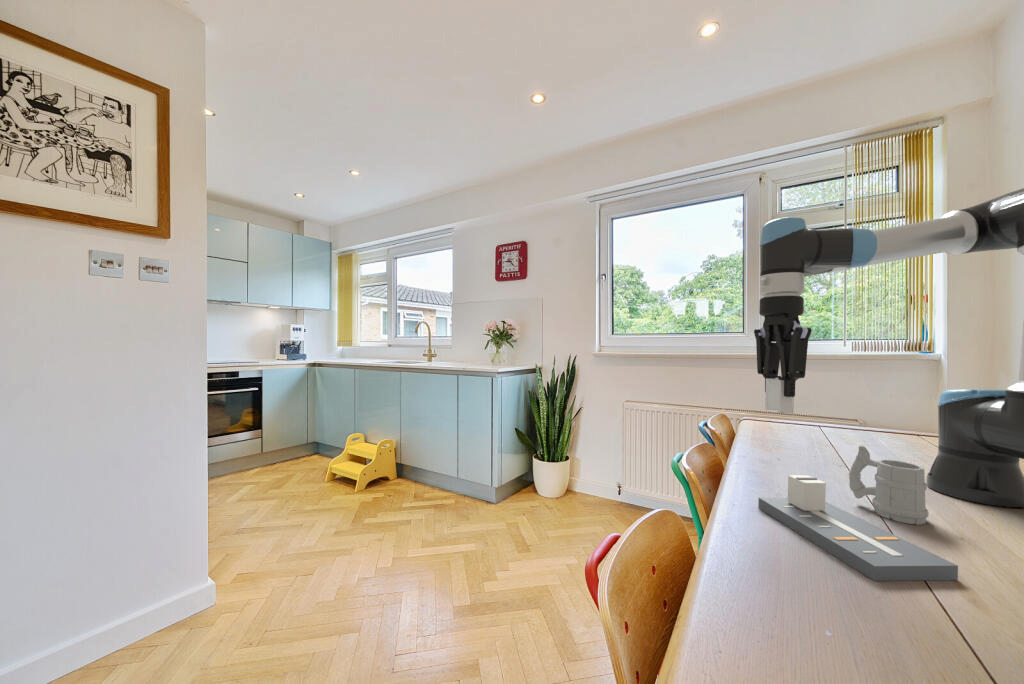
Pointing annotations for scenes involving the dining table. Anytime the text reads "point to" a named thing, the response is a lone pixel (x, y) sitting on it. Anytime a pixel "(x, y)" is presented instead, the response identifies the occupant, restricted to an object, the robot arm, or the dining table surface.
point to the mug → (892, 488)
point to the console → (861, 543)
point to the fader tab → (806, 493)
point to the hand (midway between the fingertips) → (779, 411)
